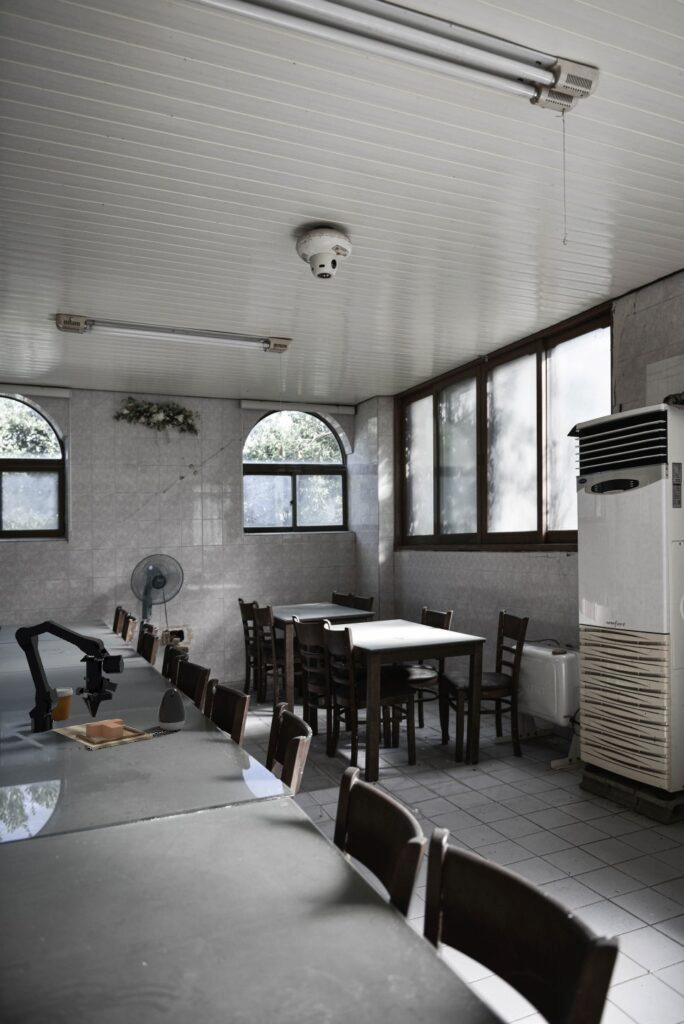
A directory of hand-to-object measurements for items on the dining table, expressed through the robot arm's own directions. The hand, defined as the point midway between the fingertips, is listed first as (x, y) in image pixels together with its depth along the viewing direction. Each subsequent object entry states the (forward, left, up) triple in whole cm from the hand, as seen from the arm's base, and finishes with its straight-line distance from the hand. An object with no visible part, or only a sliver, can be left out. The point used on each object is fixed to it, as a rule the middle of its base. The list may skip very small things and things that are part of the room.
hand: (93, 717), depth 264 cm
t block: (0, -13, -4) cm, 14 cm away
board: (0, -6, -5) cm, 8 cm away
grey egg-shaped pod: (+22, -17, -6) cm, 29 cm away
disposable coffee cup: (-1, +28, -6) cm, 28 cm away
